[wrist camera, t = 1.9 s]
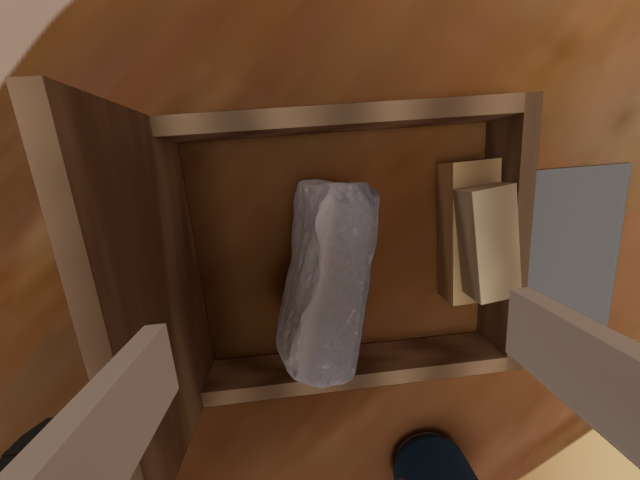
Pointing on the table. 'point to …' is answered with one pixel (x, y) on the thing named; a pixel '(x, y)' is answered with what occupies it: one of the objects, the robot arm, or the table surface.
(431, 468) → the soda can
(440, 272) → the block
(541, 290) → the mat
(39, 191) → the wooden tray
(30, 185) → the table surface
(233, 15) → the table surface
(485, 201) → the offcut short
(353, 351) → the stone block
